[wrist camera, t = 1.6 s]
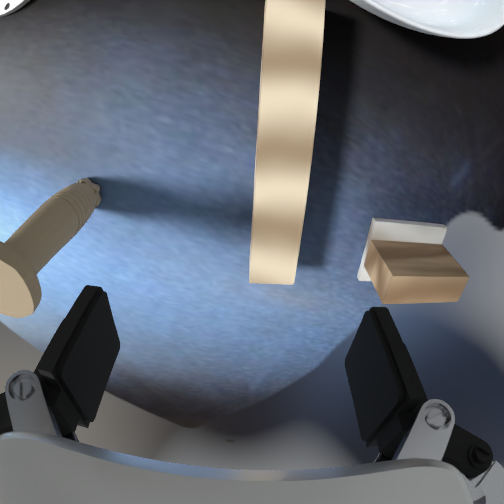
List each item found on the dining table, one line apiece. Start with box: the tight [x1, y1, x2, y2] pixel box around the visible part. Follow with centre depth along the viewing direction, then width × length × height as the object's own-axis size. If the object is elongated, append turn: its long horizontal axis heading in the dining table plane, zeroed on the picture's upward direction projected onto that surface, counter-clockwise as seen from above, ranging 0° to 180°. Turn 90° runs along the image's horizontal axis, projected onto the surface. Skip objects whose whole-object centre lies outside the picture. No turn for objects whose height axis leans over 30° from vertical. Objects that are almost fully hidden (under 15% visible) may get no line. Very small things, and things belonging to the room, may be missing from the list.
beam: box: [249, 0, 325, 285], centre depth 23 cm, size 24×4×4 cm, turn 177°
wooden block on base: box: [357, 217, 469, 304], centre depth 27 cm, size 7×9×7 cm
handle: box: [0, 178, 101, 318], centre depth 20 cm, size 5×6×15 cm
